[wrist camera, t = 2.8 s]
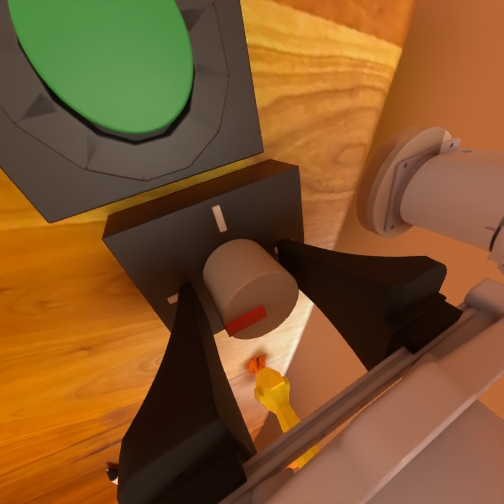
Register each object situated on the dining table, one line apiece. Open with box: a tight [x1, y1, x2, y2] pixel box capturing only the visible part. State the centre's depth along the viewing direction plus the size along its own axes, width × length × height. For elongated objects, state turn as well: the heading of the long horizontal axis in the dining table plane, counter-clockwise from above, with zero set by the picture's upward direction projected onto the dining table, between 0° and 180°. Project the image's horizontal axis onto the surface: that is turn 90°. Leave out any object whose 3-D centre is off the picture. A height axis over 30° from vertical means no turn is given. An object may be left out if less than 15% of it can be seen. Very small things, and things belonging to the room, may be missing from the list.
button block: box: [0, 0, 264, 223], centre depth 8 cm, size 10×8×4 cm
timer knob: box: [203, 239, 299, 339], centre depth 11 cm, size 4×4×4 cm
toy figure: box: [248, 356, 319, 469], centre depth 20 cm, size 7×4×12 cm, turn 170°
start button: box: [7, 0, 193, 134], centre depth 6 cm, size 4×4×2 cm
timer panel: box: [102, 159, 304, 335], centre depth 14 cm, size 10×9×3 cm
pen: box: [106, 469, 118, 485], centre depth 25 cm, size 1×19×1 cm, turn 4°
